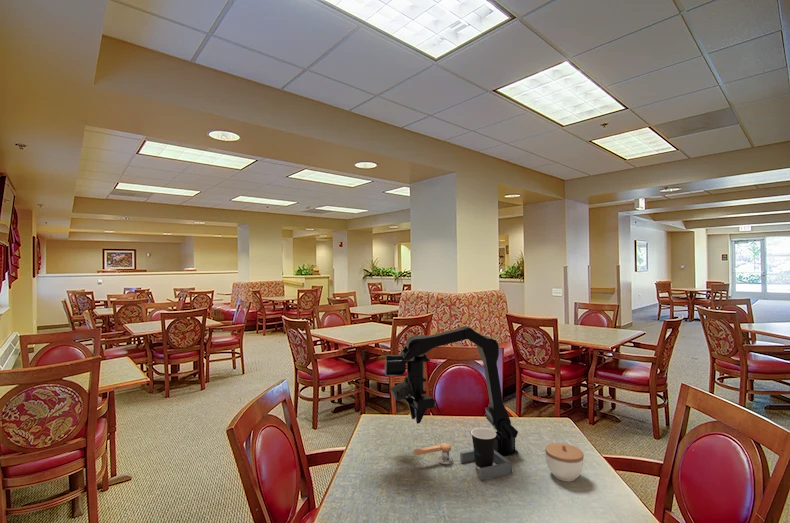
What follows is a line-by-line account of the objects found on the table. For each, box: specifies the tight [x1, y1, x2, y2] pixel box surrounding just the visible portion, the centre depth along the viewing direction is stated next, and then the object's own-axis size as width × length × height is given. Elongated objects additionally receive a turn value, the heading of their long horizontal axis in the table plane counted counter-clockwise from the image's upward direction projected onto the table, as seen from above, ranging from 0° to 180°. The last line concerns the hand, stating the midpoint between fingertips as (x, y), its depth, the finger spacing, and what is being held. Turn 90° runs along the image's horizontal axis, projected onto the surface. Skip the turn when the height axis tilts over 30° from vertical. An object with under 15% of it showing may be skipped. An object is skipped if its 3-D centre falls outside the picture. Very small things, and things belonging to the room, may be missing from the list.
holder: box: [459, 448, 513, 481], centre depth 125 cm, size 11×12×3 cm
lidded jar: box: [544, 442, 584, 483], centre depth 119 cm, size 11×11×9 cm
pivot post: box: [437, 450, 454, 466], centre depth 129 cm, size 5×5×4 cm
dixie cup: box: [470, 427, 497, 471], centre depth 125 cm, size 8×8×11 cm
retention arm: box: [413, 442, 452, 456], centre depth 127 cm, size 13×4×1 cm, turn 110°
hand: (415, 421), depth 132 cm, fingers open, 4 cm apart
